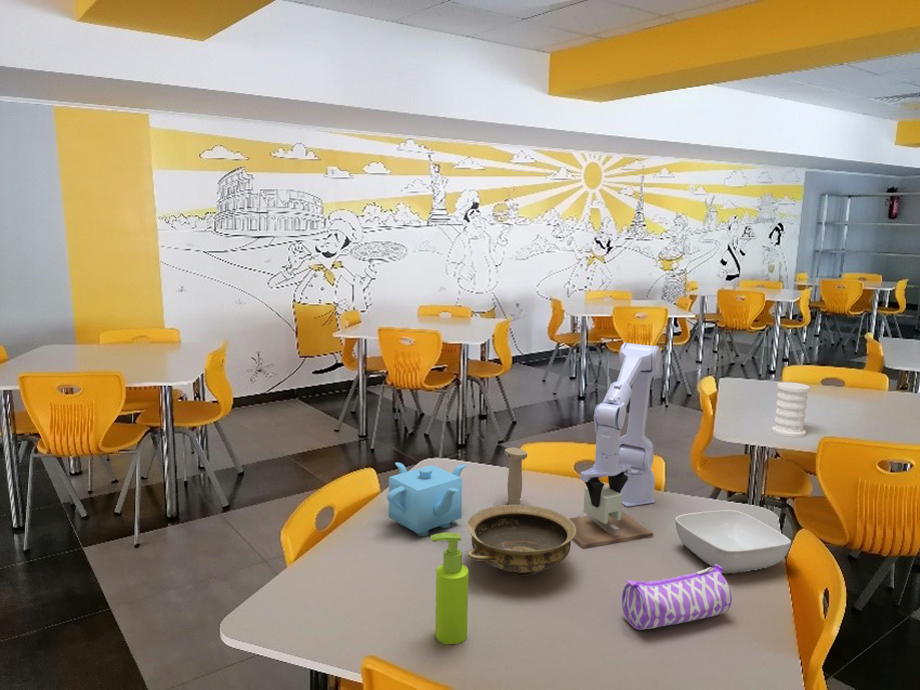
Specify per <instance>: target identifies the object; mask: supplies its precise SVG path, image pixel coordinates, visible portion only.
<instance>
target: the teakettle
mask: <svg viewBox="0 0 920 690" xmlns="http://www.w3.org/2000/svg"><path fill="white" fill-rule="evenodd" d="M394 464H395V466H396V467H397V468H398V472H399V473H397V474H395V475H392V476H389V477H388V494H387V496H386V499H387V501H388V518H389V519H391V520H393V521H394V522H397V523H398V524H399V525H400V526H402V527H405V528H407V529H409V530H411V531H412V532H414V533H416V535H417V536H419V537H426V536H429V533H430V532H429V530H432V529H435V528H438V527H440V528H442V529H449V528H451V526H452V525H451V523H452V522H455V521H457V520H460V519H462V505H463V503H462V501H463V478H462V477H461V476H460V475H461V472H462V471H463V470H464V468H466V467H467V464H465V463H464V464H459V465H457V466H456V467H455V468H454V469H453V471H452V473H451V472H450V471H447V470H444V469H442V468H440V467H438V466H436V465H434V464H433V465H427V466H423V467H419V468H416V469H413V470H409V471H408V470H407V468H406V466H405V465H404V464H403V463H402V462H397V461H396V462H395V463H394Z"/></svg>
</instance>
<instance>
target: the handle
mask: <svg viewBox="0 0 920 690" xmlns="http://www.w3.org/2000/svg"><path fill="white" fill-rule="evenodd" d="M504 455H505V456H506V458H508V459H509V461H508V463H509V464H508V473H507V487H506V488H507V490H506V491H507V502H508V505H521V498H522V490H523V475H522V474H523V469H522V467H523V466H522V465H523V460H525V459H527V457H528V452H527V451H526V450H524V449H521V448H517V447H508V448H505V449H504Z"/></svg>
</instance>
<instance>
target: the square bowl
mask: <svg viewBox="0 0 920 690" xmlns="http://www.w3.org/2000/svg"><path fill="white" fill-rule="evenodd" d="M675 529H676V533H677V536H678V537H679V539H680V541H681V542H682V543H683V545H684V546H685V547H686V548H688V549H689V551H691V552H692V553H693V554H694V555H695V554H696V557H698V558H699V559H700V560H702V561H703V562H704V563H706V564H707V565H708V564H709V565H708V566H709V567H711V566H712V568H714V565H715V564H716V565H719V566H720V567H722V569H723V572H722V573H721V574H723V573H732V574H736V573H735V572H740V573H743V572H742V571H747V572H749V571H748V570H754V571H756V570H755V569H760V570H762V569H761V568H765V567H768V568H770V567H772V566H775V565H778V564H779V563H780V562H782V560H784V559H785V557H786V556H787V554H788V552H789V550H790V548H791V544H792V540H791V539H790V538H788V537H787V536H786V535H784V534H783V533H781V532H780V531H778V530H776V529H775V528H773V527H771V526H770V525H768V524H767V523H764V522H763V521H761V520H759V519H757V518H755V517H753V516H752V515H749V514H748V513H745V512H741V511H738V510H734V509H733V510H732V509H722V510H720V509H719V510H718V509H717V510H708V511H707V510H706V511H700V512H691V513H685V514H680V515H677V516H676V517H675ZM769 566H770V567H769ZM765 569H766V568H765Z"/></svg>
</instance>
